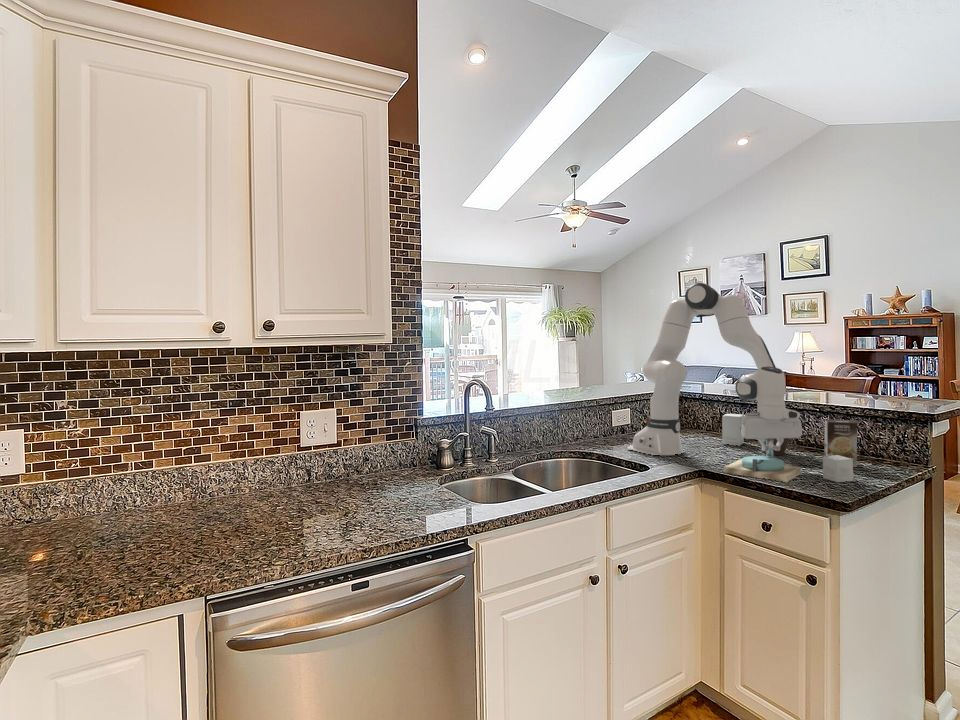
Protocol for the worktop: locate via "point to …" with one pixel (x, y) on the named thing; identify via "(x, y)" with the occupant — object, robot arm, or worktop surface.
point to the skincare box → (838, 468)
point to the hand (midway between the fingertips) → (770, 450)
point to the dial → (764, 460)
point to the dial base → (778, 475)
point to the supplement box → (732, 429)
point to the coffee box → (841, 439)
